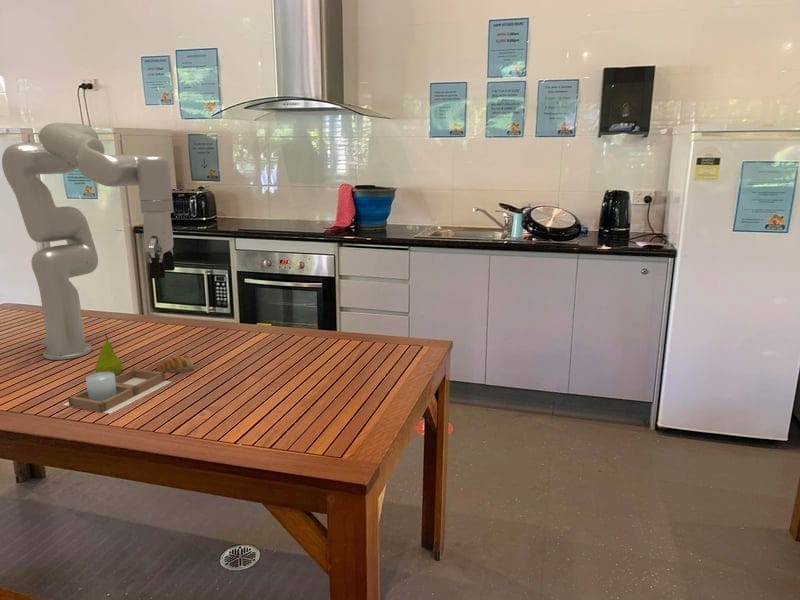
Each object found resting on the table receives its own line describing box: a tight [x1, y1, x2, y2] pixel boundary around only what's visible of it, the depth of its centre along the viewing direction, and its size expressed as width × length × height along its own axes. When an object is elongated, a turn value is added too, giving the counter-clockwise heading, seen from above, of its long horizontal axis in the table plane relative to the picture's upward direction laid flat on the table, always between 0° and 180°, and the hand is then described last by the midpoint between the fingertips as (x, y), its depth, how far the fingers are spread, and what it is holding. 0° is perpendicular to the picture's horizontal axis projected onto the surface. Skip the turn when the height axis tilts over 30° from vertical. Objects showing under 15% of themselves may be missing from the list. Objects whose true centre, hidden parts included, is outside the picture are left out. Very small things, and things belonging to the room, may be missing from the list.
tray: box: [62, 368, 172, 414], centre depth 143 cm, size 14×20×3 cm
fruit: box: [94, 333, 123, 376], centre depth 154 cm, size 6×6×12 cm
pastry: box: [155, 354, 194, 374], centre depth 161 cm, size 9×7×4 cm
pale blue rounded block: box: [85, 372, 117, 401], centre depth 138 cm, size 6×6×6 cm
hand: (163, 274), depth 152 cm, fingers open, 9 cm apart
